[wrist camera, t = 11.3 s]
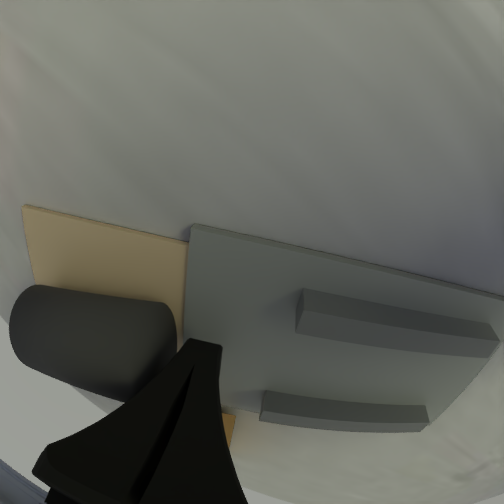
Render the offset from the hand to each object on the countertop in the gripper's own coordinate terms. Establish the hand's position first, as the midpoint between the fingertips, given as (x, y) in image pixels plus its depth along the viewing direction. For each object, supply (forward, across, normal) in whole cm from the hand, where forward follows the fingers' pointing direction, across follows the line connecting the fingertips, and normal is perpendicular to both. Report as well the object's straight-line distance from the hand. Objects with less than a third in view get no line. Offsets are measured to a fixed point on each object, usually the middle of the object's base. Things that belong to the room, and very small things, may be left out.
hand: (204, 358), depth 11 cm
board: (+1, -3, 0) cm, 3 cm away
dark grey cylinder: (+1, +5, 0) cm, 5 cm away
